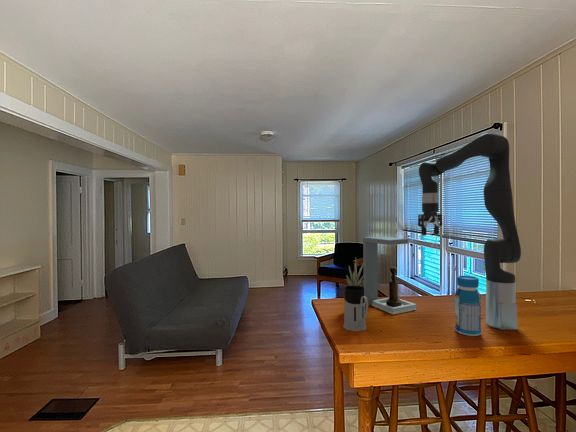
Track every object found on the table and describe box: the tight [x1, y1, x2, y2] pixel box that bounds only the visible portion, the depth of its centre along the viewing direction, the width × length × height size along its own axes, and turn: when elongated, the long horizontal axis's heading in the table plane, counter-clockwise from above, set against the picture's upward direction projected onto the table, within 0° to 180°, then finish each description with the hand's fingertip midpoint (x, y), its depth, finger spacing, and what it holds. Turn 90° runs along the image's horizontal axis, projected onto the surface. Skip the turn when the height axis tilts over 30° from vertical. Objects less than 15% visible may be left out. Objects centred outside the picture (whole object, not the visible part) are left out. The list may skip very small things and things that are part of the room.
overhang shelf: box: [362, 235, 417, 315], centre depth 142 cm, size 16×17×32 cm
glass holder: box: [342, 285, 369, 332], centre depth 116 cm, size 9×14×15 cm, turn 15°
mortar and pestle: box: [386, 265, 402, 307], centre depth 141 cm, size 7×6×18 cm
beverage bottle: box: [454, 275, 483, 337], centre depth 112 cm, size 8×8×20 cm
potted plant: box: [343, 258, 367, 303], centre depth 134 cm, size 10×10×25 cm
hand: (430, 235), depth 154 cm, fingers open, 8 cm apart
